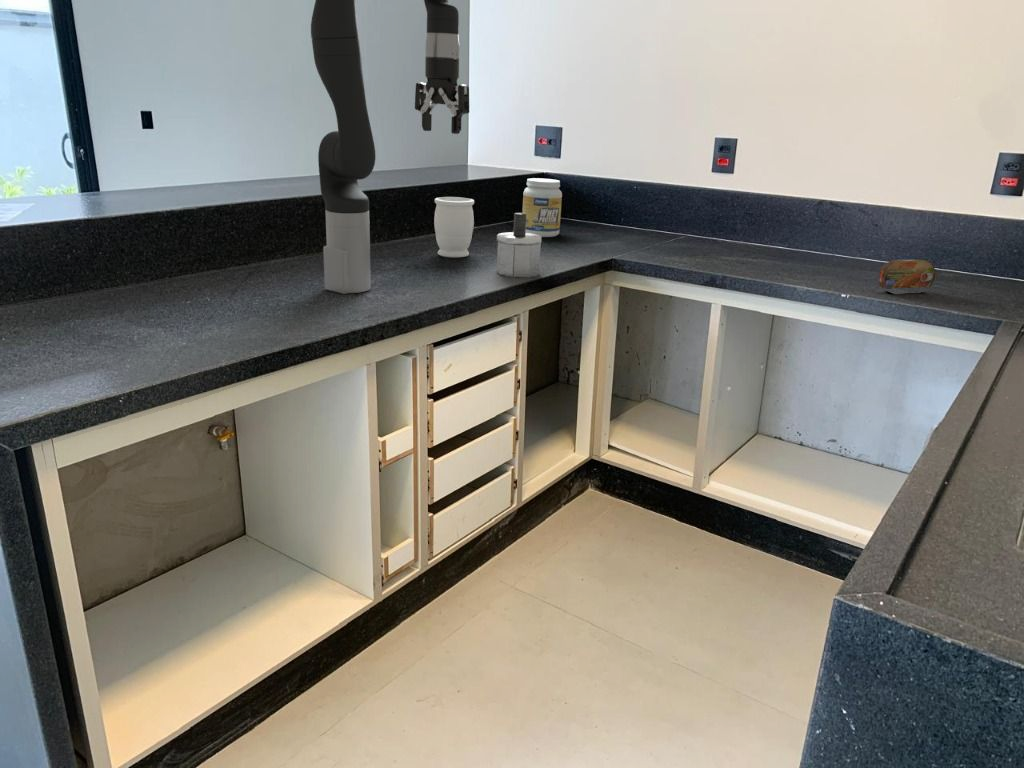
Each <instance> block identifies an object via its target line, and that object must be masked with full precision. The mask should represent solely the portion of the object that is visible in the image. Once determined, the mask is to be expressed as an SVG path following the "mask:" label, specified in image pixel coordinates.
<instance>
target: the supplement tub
mask: <svg viewBox="0 0 1024 768" xmlns="http://www.w3.org/2000/svg"><path fill="white" fill-rule="evenodd" d="M526 186H527V187H525V188H524V191H523V198H522V212H521V213H526V214H527V215H526V233H531V234H536V235H539V236H541V237H542V238H553V237H556V236H558V235H559V234H560V228H561V213H562V201H563V199H562V197H563V193H562V191H561V190H560V187H561V181H560V180H558V179H552V178H539V177H537V178H535V177H532V178H527V180H526Z"/></svg>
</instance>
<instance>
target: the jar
mask: <svg viewBox="0 0 1024 768" xmlns="http://www.w3.org/2000/svg"><path fill="white" fill-rule="evenodd" d="M434 203H435V204H436V205H435V206H436V207H435V210H434V219H433V220H434V221H433V225H434V232H435V239H436V244H437V246H438V247H439V250H438V251H437V254H438V255H439V256H441V257H444V258H452V259H453V258H455V259H456V258H457V259H458V258H459V259H460V258H466V257H468V256H469V255H470V253H469V250H468V249H469V247H470V245H471V242H472V236H473V233H474V226H475V221H474V220H475V219H474V216H475V215H474V209H473V205H474V204H475V200H474V199H473V198H468V197H460V196H441V197H436V198H434Z"/></svg>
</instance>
